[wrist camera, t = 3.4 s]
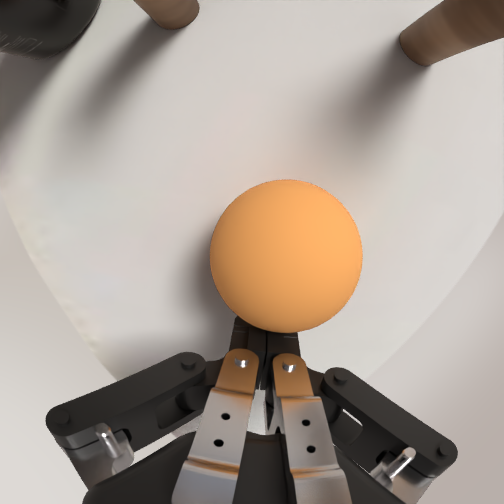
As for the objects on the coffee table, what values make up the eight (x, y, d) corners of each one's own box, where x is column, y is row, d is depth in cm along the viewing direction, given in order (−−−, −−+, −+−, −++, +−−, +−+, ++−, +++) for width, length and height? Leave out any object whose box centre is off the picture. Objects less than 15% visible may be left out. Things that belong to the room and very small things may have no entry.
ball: (220, 251, 15) (224, 147, 11) (328, 262, 15) (361, 167, 11) (201, 350, 11) (189, 241, 7) (341, 361, 11) (410, 266, 7)
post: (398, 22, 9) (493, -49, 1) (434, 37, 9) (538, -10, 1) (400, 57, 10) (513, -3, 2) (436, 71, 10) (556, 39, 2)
